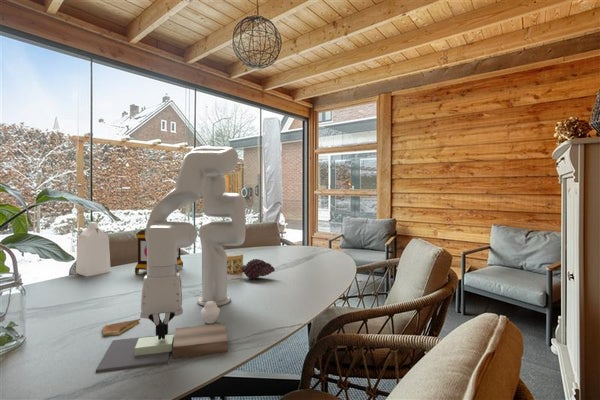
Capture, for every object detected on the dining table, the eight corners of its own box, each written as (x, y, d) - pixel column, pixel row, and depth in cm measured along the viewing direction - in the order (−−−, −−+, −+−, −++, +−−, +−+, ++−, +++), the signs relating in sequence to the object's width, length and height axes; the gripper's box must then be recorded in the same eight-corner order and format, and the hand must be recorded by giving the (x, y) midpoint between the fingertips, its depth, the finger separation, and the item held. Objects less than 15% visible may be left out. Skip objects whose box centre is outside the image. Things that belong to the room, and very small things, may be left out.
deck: (176, 338, 97) (176, 328, 97) (224, 332, 101) (224, 323, 101) (172, 358, 85) (172, 347, 85) (227, 351, 89) (227, 340, 89)
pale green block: (134, 355, 85) (134, 348, 85) (139, 345, 91) (139, 338, 91) (171, 351, 88) (171, 343, 88) (173, 341, 94) (173, 334, 93)
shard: (140, 323, 109) (140, 317, 108) (144, 331, 102) (144, 325, 102) (102, 330, 103) (102, 324, 103) (103, 340, 96) (103, 333, 96)
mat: (113, 342, 94) (113, 340, 94) (173, 335, 98) (173, 333, 98) (95, 372, 78) (95, 369, 78) (167, 362, 83) (167, 360, 83)
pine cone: (275, 276, 166) (275, 257, 166) (273, 282, 156) (273, 261, 156) (240, 275, 167) (241, 256, 167) (236, 281, 157) (236, 260, 157)
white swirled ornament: (220, 324, 107) (220, 303, 107) (200, 326, 105) (200, 304, 105) (219, 317, 113) (219, 297, 113) (200, 319, 111) (200, 298, 111)
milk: (75, 272, 169) (75, 222, 168) (99, 268, 179) (99, 220, 178) (86, 276, 162) (86, 224, 161) (110, 271, 172) (110, 222, 171)
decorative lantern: (153, 266, 185) (153, 213, 184) (186, 267, 183) (186, 213, 182) (130, 275, 166) (130, 215, 165) (167, 277, 163) (167, 216, 162)
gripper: (191, 266, 95) (191, 328, 96) (134, 268, 91) (134, 334, 91) (190, 272, 88) (190, 340, 88) (128, 275, 84) (128, 347, 84)
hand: (161, 337), depth 90 cm, fingers closed
